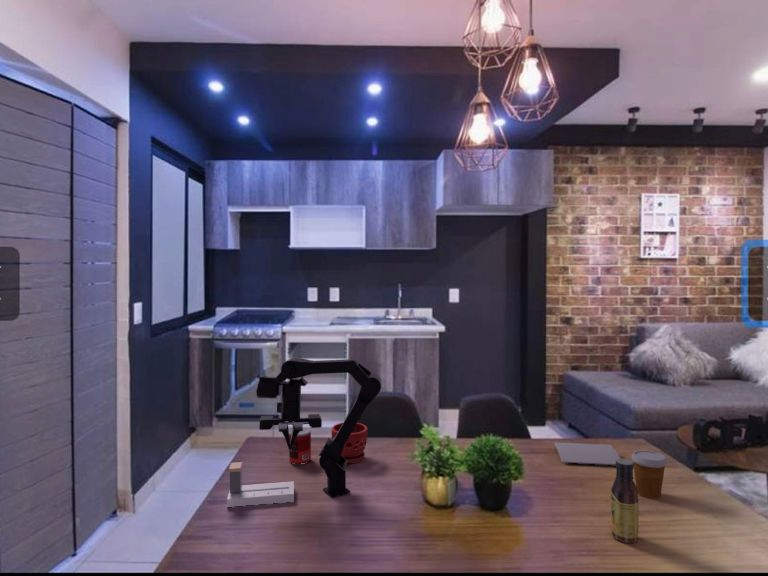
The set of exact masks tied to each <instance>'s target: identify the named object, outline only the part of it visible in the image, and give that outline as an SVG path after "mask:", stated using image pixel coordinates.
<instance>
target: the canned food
mask: <svg viewBox="0 0 768 576" xmlns="http://www.w3.org/2000/svg"><path fill="white" fill-rule="evenodd" d="M291 434H292V429H290V430H289V438H290V441H291ZM311 443H312V431H311V429H310V428H307V427H303V431H300V432H299V433H298V435H297V437H296V439H295V441H294V444H293V447H292V449H291V450H289V449H288V452H289V454H288V457H289V458H288V459H289V463H290V462H291V463H295V464H301V463H306V462H308V461H310V462H311V459H312V444H311ZM291 463H290V464H291ZM308 463H309V462H308Z"/></svg>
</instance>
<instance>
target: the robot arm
mask: <svg viewBox="0 0 768 576" xmlns="http://www.w3.org/2000/svg"><path fill="white" fill-rule="evenodd" d="M280 370H281V371H280V372H279V374H277V375H276V376H268V375H261V376H259V378H258V382H257V387H256V397H257V399H273V400H274V399H275V400H276V399H277V398H278V397H279V396H281V402H276V414H281V415H280V417H281V418H274V415H261V416H260V417H259V429H258V430H260V431H263V430H264V431H267V430H271V429H272V428H273V426H278V432H280V433H282V435H283V437H284V440H285V443H286V444H287V449H288V451H289V450H291V449H292V447H293V444H294V441H295V439H296V437H297V435H298V433H299V432H300V431H303V428H304V427H303V426H304V425H308V426H309V427H310V428H311V429H317V428H318V429H319V428H320V429H321V428H322V425H323V424H322V423H323V422H322V421H323V419H322V417H321V415H320V414H319V413H316V414H314V413H312V414H311V413H310V414H309V413H308V415H307V417H301V406H302V405H301V402H302V401H301V399H302V387H306V386H307V385H308V383H309V381H308V380H306V379H305V378H304V377H305V376H306V377H307V376H310V375H320V374H321V375H323V374H325V375H327V374H350V376H352V378H353V379H354V380H355V382H357V384H358V385H359V386H361V388H360V390H359V391H358V395H357V398H356V399H355V402H354V404H353V405H352V407H351V409H350V410H349V412H348V414H347V415H346V418H345V419H344V421H343V422H342V423H343V424H342V426H341V428H340V429H339V431H338V433H337V435H336V436H335V437H334V438H333V439H332V438H330V437H328V438H327V439H326V441H325V444H324V445H323V446H322V447H321V450H320V452H319V454H318V456H319V460H318V461H319V462H318V463H319V465H320V467H321V469H323V471H324V473H325V474H326V477H327V480H326V481H327V484H326V487H324V488H322V491H323V492H325V493H326V494H327V495H328V496H329V497H330V498H335V497H340V496H343V495H347V494H351V491H350V489H348V488H347V481H346V480H347V479H346V476H347V472H346V467H347V464H348V463H347V460H346V459H345V458H344V457H343V456H342V455H341V453H342V451H343V448H344V445H345V443H346V441H347V440H348V438H349V436H350V434H351V433H352V431H353V429H354V427H355V426H356V424H357V423H359V420H360V418H361V417H362V416H363V413H364V412H365V410H366V408H367V407H368V406H369V404H371V403H372V402H373V400H374V399H375V398H376V397H377V396H378V395H379V393H380V392H381V389H382V379H381V376H380V375H378V374H376V373H373V372H371V371H370V370H369V369H368V368H367V367H365V366H363V365H362V364H361V363H360V362H359V361H358V360H357V359H355V358H348V359H329V360H328V359H326V360H323V359H322V360H310V359H307V358H303V357H290V358H288V359H287V360H285V361H284V362H283V363H282V364H281V368H280ZM286 380H289V381H286ZM289 426H291V427H292V429H291V430H292V434H291V441H290V438H289V432H290V430H289Z"/></svg>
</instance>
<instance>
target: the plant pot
mask: <svg viewBox="0 0 768 576" xmlns="http://www.w3.org/2000/svg"><path fill="white" fill-rule="evenodd" d="M342 424H343V422H339V423H336V424H334V425H332V427H331V440H332V439H333V438H334V437H335V436H336V435H337V433H338V431H339V429H340V428H341V426H342ZM367 442H368V427H367V425H365V424H363V423H360V422H357V424H356V426H355V427H354V429H353V431H352V433H351V434H350V436H349V438H348V440H347V441H346V443H345V445H344V448H343V451H342V453H341V455H342V456H343V457H344V458H345V459H346V460H347V464H354V463H355V464H356V463H358V462H360V461H362V460H363V459H364V458H365V454H366V453H365V449H366V446H367Z"/></svg>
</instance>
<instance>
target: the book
mask: <svg viewBox="0 0 768 576" xmlns="http://www.w3.org/2000/svg"><path fill="white" fill-rule="evenodd" d="M553 444H554V446H555V447H556V450H557V452H558V455H559V457H560V460H561V463H564V462H565V463H564V464H568V463H578V464H577V465H588V464H595V465H594V466H608V465H611V466H612V467H616V460H617V459H621V457H620V455H619V453H618V452H617V450H616V449H615V448H614V446H613V445H611V444H603V443H602V444H601V443H600V444H597V443H596V444H595V443H579V442H578V443H576V442H573V443H572V442H553ZM611 466H610V467H611Z"/></svg>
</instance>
